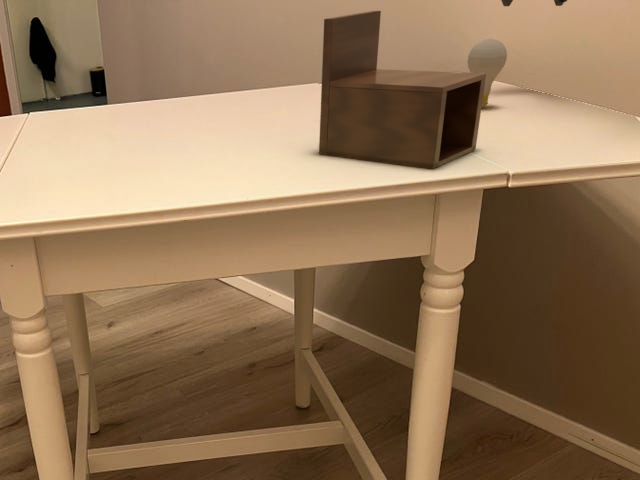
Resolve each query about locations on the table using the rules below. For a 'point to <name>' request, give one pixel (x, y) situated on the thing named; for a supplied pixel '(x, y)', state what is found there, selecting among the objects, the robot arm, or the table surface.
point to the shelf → (391, 102)
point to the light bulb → (487, 62)
